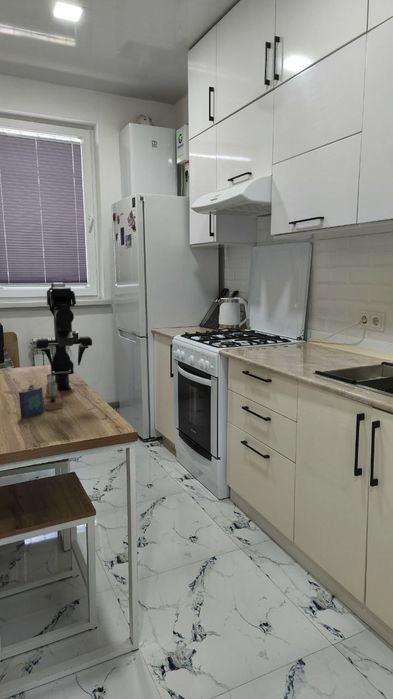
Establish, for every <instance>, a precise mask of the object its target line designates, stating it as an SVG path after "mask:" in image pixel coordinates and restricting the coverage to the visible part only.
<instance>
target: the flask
mask: <svg viewBox="0 0 393 699" xmlns="http://www.w3.org/2000/svg"><path fill="white" fill-rule="evenodd" d="M28 386H29V387H27V388H25V389H22V390H20V391H18V395H19V396H18V398H19V408H20V418H21V419H23V420H24V419H29V418H32V417H35V416H38V415H41V414H43V413H45V412H44V411H45V407H44V399H43V387H42V386H36V387H35V384H30V383H29V385H28Z"/></svg>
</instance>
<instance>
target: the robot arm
mask: <svg viewBox="0 0 393 699" xmlns="http://www.w3.org/2000/svg"><path fill="white" fill-rule="evenodd" d="M50 285H51V286H50V288H49V289H48V290H47V291H46V305H47V306H48V308H49V311H50V312H51V314H52V315H53V328H54V329H53V330H54V339H51V340H49V338H38V339H36V341H35V343H36V344H35V345H36V349H37V350H40V351H41V352H44V353H45V355H46V357H47V360H48V362H49V364H50V374H53V375H54V380H56V382H57V391H58V390H59V391H65V390H66V391H67V390H71V389H72V387H71V385H70V375H74V374H75V372H74V362H73V361H72V359H71V357H70V354H69V353H68V352H67V350H66V348H67V347H72V346H73V345H78V352H77V365H78V366H80V365H81V362H82V359H83V356H84V352H85V350H86V349H89V346H91V347H92V346H93V339H92V337H90V336H89V335H87V336H79V331H78V330H73V324H72V323H73V321H74V318H75V317H74V316H75V315H74V313H73V311H72V309H71V307H76V306H75V305H76V304H77V301H76V293H75V292H74V290H73V289H72V288H71V287H70V286H66V284H65V282H52V283H50ZM51 346H52V347H53V346H54V347H55V350H54V352H53V354H51V350H50V347H51Z"/></svg>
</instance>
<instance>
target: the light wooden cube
mask: <svg viewBox="0 0 393 699" xmlns="http://www.w3.org/2000/svg"><path fill="white" fill-rule="evenodd" d="M54 382H55V397H58V392H57V391H58V390H57V382H56V380H55V379H54ZM44 384H45V386H44V387H45V392H46V397H47V398H50V387H49V382H48V380H45V382H44Z"/></svg>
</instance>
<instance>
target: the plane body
mask: <svg viewBox="0 0 393 699" xmlns="http://www.w3.org/2000/svg"><path fill="white" fill-rule="evenodd" d="M57 392H58V397H55V398H56V401H55V402H51V401H50V398H47V397H46V391H42V394H43V407H44V411H45V410H46V411H47V410H56V409H63V400H62V397H61V393H60V390H57Z"/></svg>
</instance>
